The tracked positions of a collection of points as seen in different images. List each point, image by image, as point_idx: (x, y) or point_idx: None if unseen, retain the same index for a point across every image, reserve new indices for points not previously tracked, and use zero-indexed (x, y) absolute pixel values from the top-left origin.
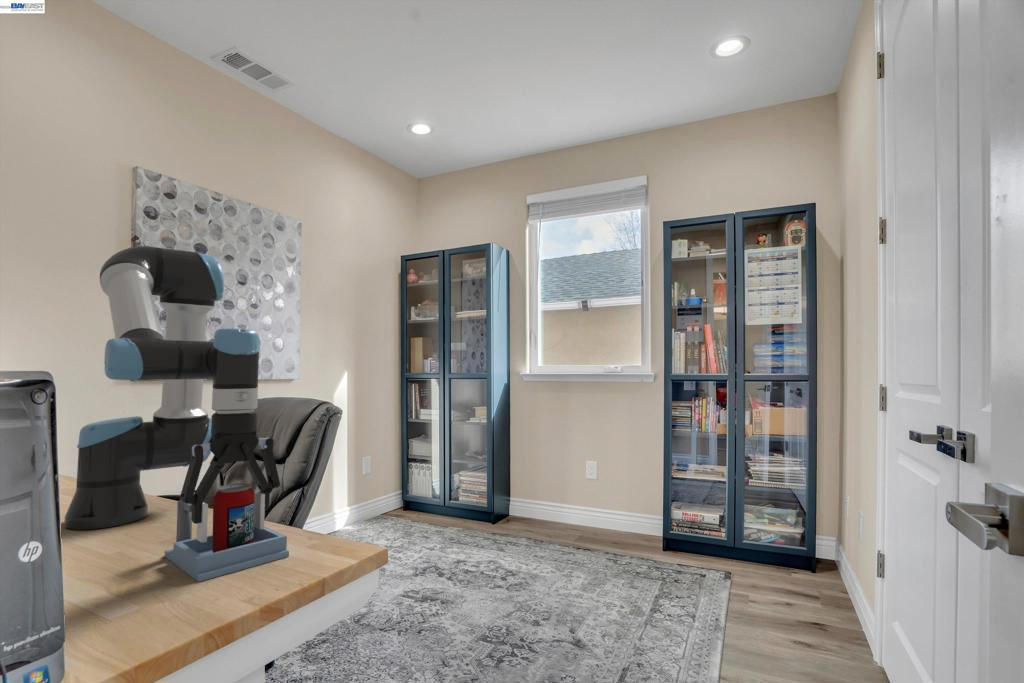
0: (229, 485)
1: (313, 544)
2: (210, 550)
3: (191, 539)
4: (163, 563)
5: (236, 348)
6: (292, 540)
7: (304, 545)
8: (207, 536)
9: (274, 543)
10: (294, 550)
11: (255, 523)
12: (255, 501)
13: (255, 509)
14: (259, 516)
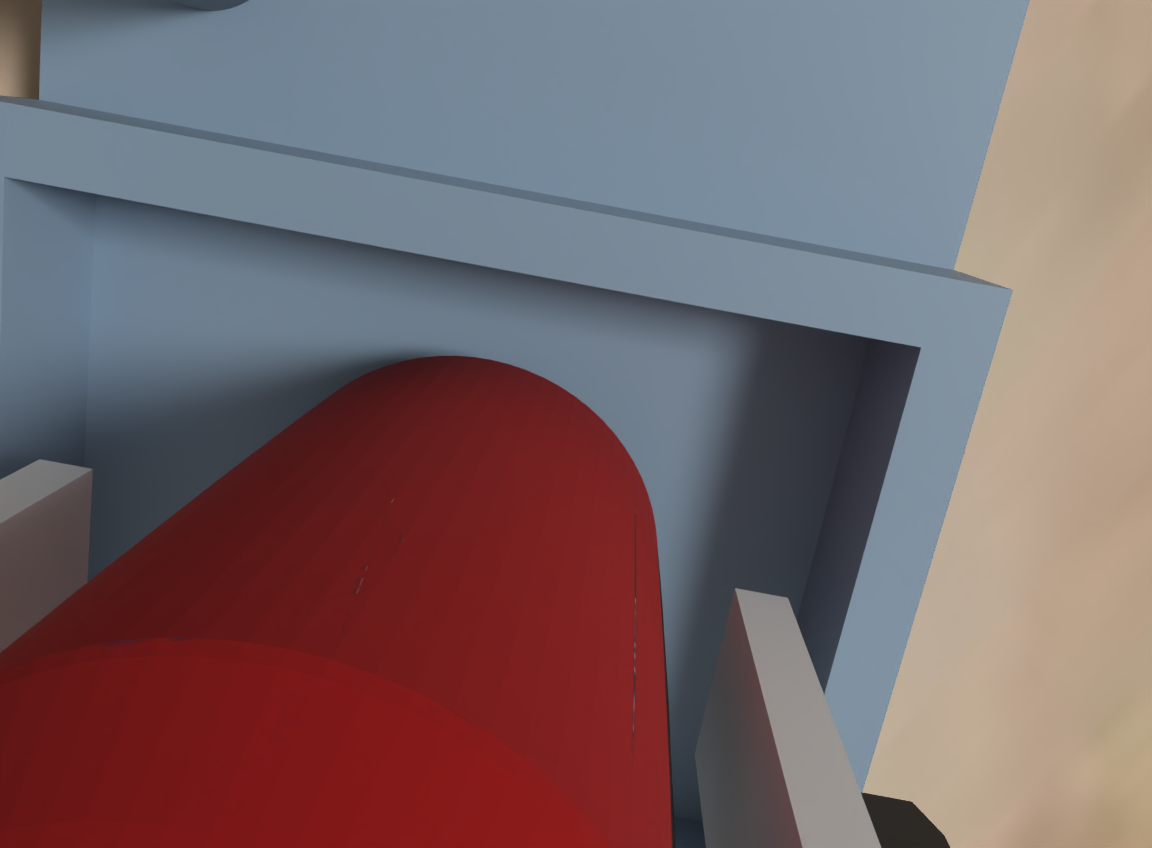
0: None
1: (1103, 827)
2: (369, 253)
3: (128, 151)
4: (5, 28)
5: None
6: (1115, 560)
7: (1044, 779)
8: (304, 218)
9: None
10: None
11: (732, 649)
12: (785, 840)
13: (758, 758)
14: (716, 834)
